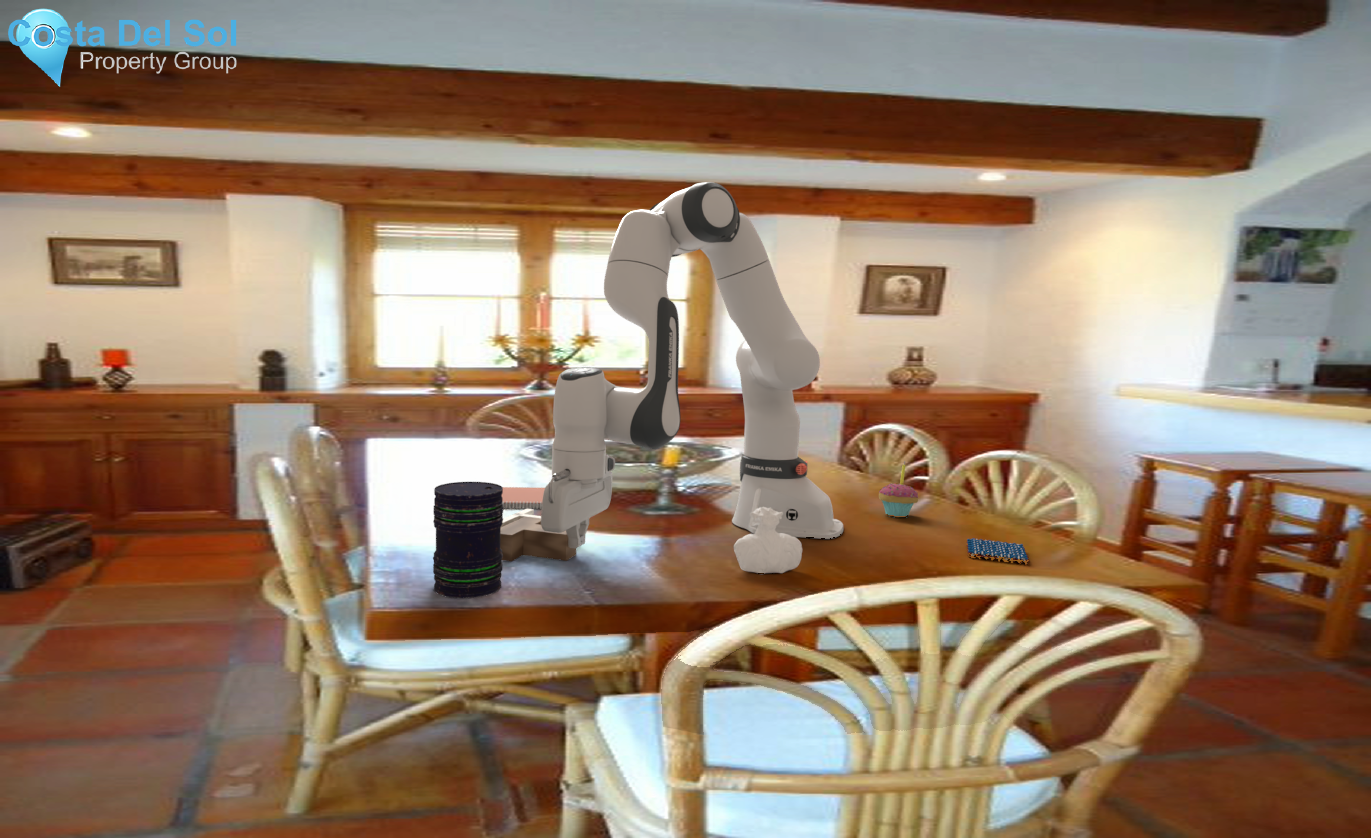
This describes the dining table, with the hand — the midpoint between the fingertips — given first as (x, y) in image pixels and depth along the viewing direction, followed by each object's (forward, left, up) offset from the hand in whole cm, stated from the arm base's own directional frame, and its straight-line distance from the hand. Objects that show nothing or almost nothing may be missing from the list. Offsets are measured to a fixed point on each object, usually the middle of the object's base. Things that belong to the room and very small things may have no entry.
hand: (576, 546), depth 133 cm
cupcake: (-50, -59, -2) cm, 77 cm away
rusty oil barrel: (+8, +20, -2) cm, 22 cm away
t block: (+7, 0, -2) cm, 7 cm away
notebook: (+25, -36, -3) cm, 44 cm away
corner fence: (+10, 0, -2) cm, 10 cm away
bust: (-31, -8, -2) cm, 32 cm away
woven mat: (-69, -35, -3) cm, 77 cm away
